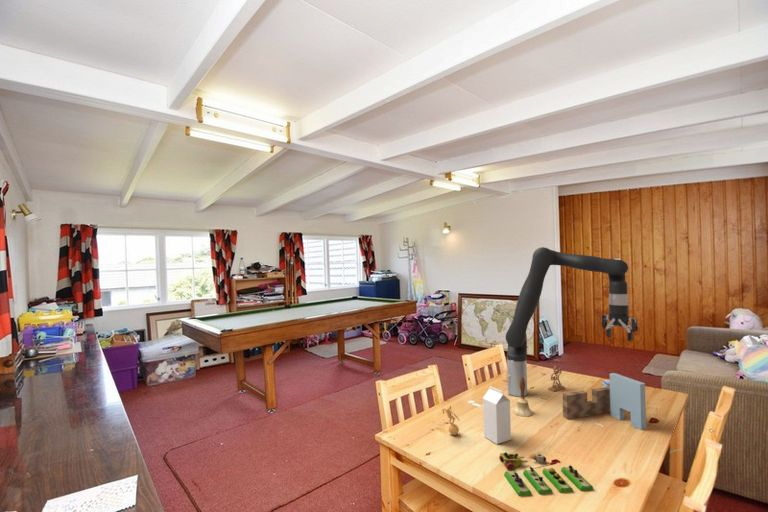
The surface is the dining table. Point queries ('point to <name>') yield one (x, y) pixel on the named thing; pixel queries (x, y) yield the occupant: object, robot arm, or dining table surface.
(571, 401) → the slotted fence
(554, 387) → the tan statuette
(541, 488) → the toy garden set
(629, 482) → the dining table surface
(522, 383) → the hand bell
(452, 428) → the figurine
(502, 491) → the dining table surface
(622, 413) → the blue-gray tapered panel
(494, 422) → the milk carton
